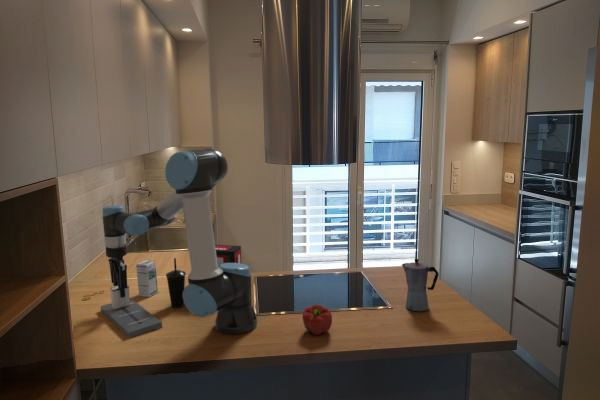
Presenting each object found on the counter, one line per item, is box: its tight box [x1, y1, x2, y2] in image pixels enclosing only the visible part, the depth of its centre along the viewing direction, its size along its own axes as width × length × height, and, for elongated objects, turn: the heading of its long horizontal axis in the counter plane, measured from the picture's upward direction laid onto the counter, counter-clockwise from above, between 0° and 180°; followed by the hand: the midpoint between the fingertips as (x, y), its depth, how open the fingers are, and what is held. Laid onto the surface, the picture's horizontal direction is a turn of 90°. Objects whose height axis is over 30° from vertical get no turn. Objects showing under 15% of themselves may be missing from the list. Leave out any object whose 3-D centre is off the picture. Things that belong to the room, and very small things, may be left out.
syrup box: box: [135, 259, 159, 298], centre depth 189 cm, size 6×6×14 cm
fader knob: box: [109, 284, 130, 309], centre depth 172 cm, size 3×6×8 cm, turn 131°
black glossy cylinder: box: [165, 257, 186, 309], centre depth 176 cm, size 8×8×20 cm
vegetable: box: [302, 304, 333, 336], centre depth 153 cm, size 11×10×10 cm
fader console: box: [100, 297, 163, 339], centre depth 166 cm, size 30×12×2 cm, turn 41°
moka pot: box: [401, 258, 439, 312], centre depth 172 cm, size 10×15×20 cm, turn 55°
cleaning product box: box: [215, 244, 242, 266], centre depth 191 cm, size 16×9×20 cm, turn 80°
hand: (120, 302), depth 173 cm, fingers closed on fader knob, 3 cm apart
